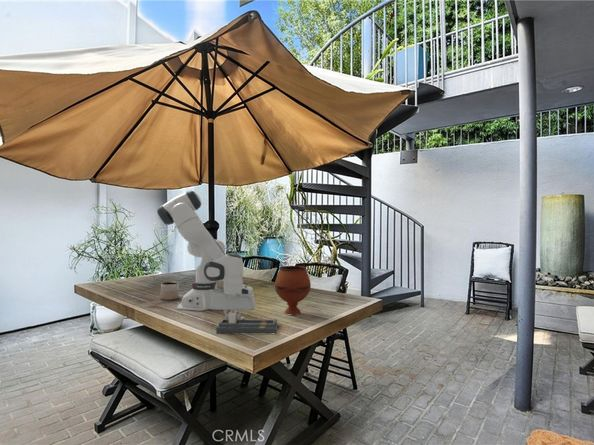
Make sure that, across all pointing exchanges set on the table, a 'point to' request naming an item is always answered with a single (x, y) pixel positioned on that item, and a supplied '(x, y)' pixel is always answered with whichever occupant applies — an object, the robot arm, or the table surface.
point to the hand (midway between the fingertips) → (232, 319)
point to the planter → (169, 290)
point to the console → (247, 326)
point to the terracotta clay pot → (292, 286)
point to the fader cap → (232, 316)
